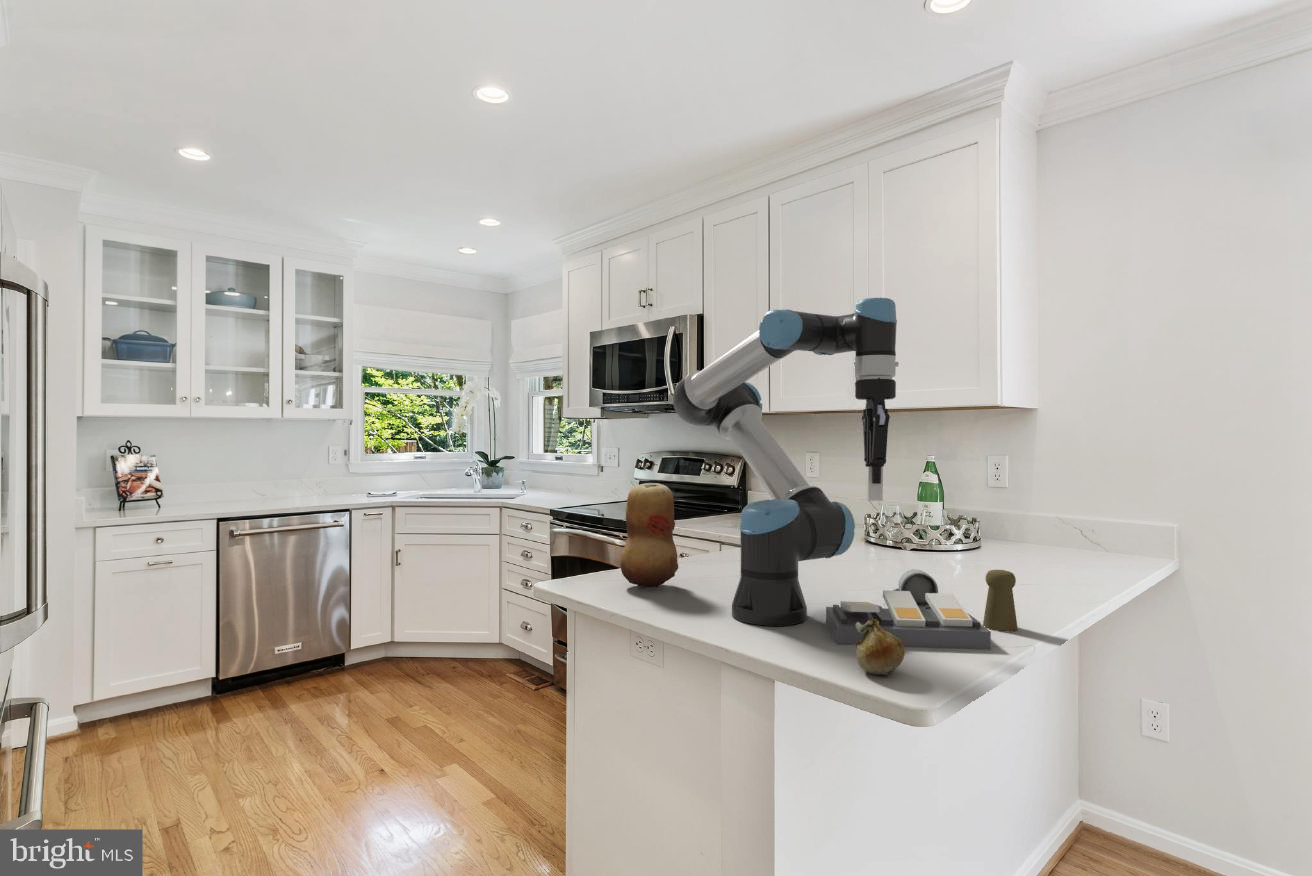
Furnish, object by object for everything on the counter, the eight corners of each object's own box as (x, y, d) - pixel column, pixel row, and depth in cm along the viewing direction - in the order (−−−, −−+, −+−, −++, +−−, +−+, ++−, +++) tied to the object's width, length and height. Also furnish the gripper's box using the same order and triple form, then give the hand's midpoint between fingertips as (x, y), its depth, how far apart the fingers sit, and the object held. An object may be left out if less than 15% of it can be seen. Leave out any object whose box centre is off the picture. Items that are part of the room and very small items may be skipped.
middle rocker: (896, 625, 122) (896, 619, 122) (882, 596, 133) (883, 590, 132) (925, 626, 122) (925, 620, 121) (909, 596, 132) (909, 590, 132)
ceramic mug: (931, 600, 153) (931, 566, 153) (938, 609, 145) (938, 573, 145) (882, 598, 155) (881, 564, 155) (886, 607, 147) (885, 572, 147)
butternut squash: (631, 595, 156) (631, 486, 156) (613, 583, 169) (614, 482, 168) (686, 591, 161) (687, 485, 161) (666, 579, 174) (666, 481, 173)
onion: (851, 678, 105) (852, 626, 104) (855, 662, 112) (855, 613, 112) (904, 685, 102) (904, 631, 102) (904, 667, 109) (905, 617, 109)
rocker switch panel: (837, 644, 121) (838, 621, 121) (826, 621, 135) (826, 601, 135) (990, 648, 119) (990, 626, 119) (962, 626, 133) (962, 605, 133)
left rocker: (850, 611, 122) (850, 604, 123) (840, 607, 133) (840, 600, 133) (879, 612, 122) (879, 605, 122) (866, 608, 133) (866, 601, 133)
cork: (1004, 633, 128) (1004, 574, 128) (975, 625, 133) (976, 569, 133) (1024, 629, 131) (1025, 571, 131) (996, 621, 136) (996, 566, 136)
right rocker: (942, 625, 121) (943, 618, 121) (925, 598, 132) (925, 592, 132) (972, 626, 121) (972, 619, 120) (951, 599, 131) (952, 593, 131)
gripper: (904, 376, 126) (903, 504, 126) (887, 381, 139) (886, 497, 139) (862, 376, 127) (861, 503, 127) (849, 381, 140) (848, 496, 140)
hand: (874, 500), depth 133 cm, fingers closed
